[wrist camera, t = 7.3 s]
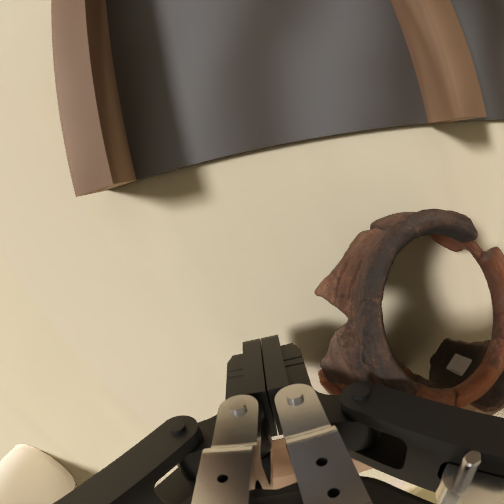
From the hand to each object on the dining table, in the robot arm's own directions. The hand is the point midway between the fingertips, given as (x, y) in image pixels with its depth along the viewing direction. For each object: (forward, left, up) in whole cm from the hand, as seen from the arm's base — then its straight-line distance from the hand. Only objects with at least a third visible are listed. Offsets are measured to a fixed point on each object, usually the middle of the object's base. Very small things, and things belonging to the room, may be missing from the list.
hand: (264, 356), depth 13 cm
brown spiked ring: (+7, -1, -2) cm, 8 cm away
